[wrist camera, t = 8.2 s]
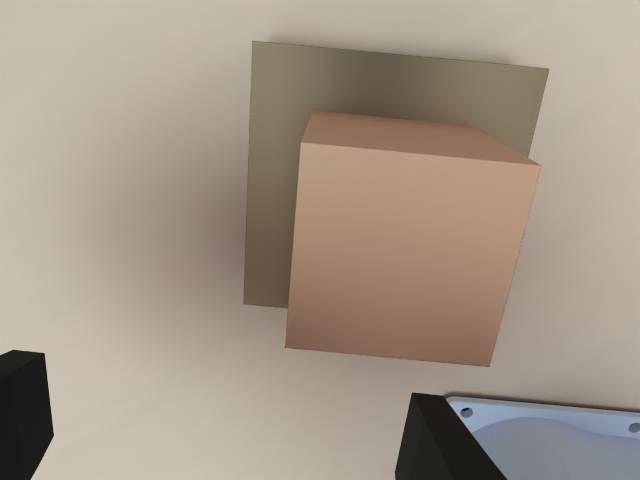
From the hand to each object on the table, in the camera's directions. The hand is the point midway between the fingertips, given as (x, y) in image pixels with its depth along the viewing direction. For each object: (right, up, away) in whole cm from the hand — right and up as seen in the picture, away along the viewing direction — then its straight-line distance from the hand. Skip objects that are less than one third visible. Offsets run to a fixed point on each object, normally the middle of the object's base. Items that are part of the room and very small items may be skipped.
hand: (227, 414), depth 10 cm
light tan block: (+4, +5, +5) cm, 8 cm away
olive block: (+4, +6, +8) cm, 10 cm away
